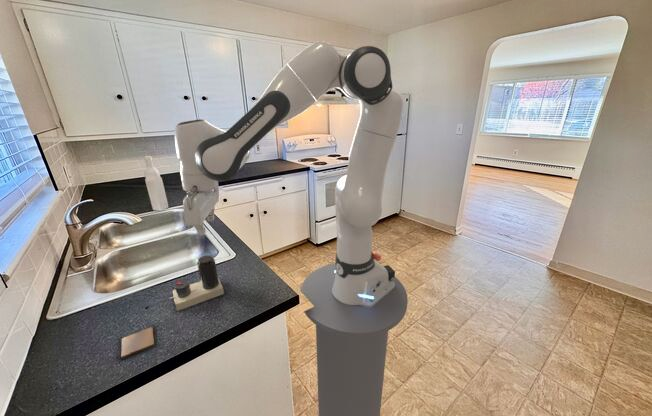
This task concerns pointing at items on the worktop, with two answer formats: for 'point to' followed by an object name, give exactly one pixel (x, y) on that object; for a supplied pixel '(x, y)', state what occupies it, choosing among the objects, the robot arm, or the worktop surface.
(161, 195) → the milk
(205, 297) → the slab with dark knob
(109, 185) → the worktop surface
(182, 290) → the knob
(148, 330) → the trivet
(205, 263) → the jar
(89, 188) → the worktop surface
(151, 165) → the bottle
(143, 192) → the worktop surface
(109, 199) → the worktop surface
